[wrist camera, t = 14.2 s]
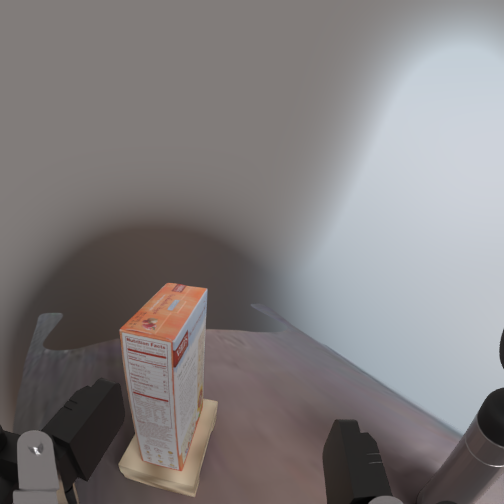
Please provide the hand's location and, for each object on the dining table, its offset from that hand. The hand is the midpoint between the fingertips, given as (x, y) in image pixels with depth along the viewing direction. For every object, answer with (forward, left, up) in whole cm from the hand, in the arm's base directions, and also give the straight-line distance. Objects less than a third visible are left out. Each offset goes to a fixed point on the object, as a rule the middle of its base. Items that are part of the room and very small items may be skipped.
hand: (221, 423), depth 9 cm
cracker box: (+9, -21, -26) cm, 35 cm away
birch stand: (+9, -21, -30) cm, 38 cm away
